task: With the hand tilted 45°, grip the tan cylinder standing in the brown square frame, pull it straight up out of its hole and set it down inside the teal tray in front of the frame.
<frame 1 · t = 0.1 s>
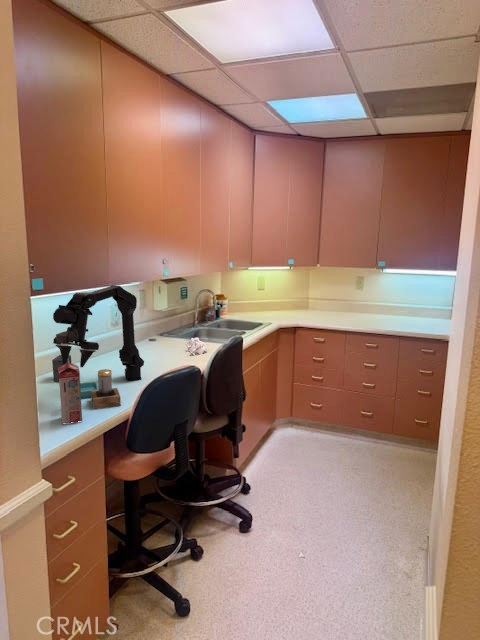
hand: (72, 365, 166), 15 cm above the worktop, tool pointing down, fingers open, 9 cm apart
brown square frame: (105, 402, 170), on the worktop
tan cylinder: (105, 387, 169), in the brown square frame
juice carton: (71, 420, 155), on the worktop
teal tray: (84, 393, 179), on the worktop
white coral: (197, 353, 245), on the worktop
box: (63, 380, 196), on the worktop
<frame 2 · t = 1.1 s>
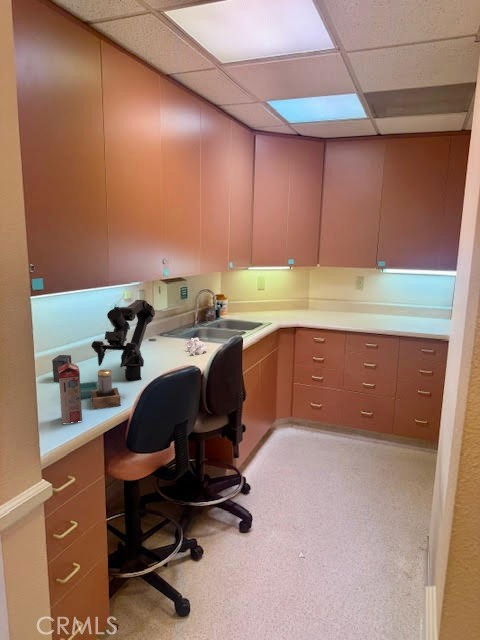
hand: (110, 366, 173), 13 cm above the worktop, tool tilted 45°, fingers open, 9 cm apart
nothing on the worktop moved.
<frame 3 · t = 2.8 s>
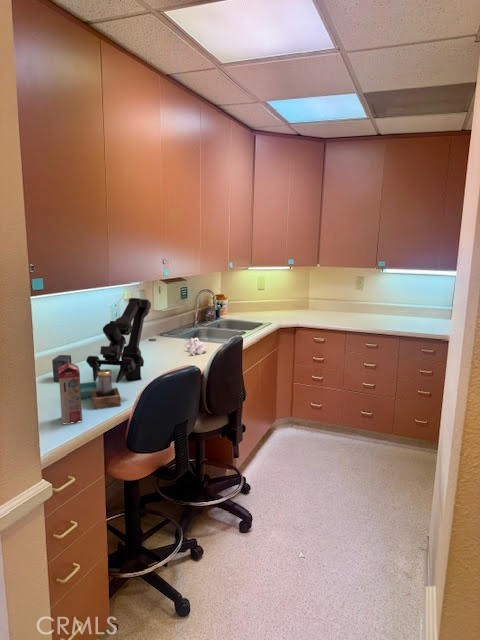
hand: (105, 382, 169), 9 cm above the worktop, tool tilted 45°, fingers open, 9 cm apart
nothing on the worktop moved.
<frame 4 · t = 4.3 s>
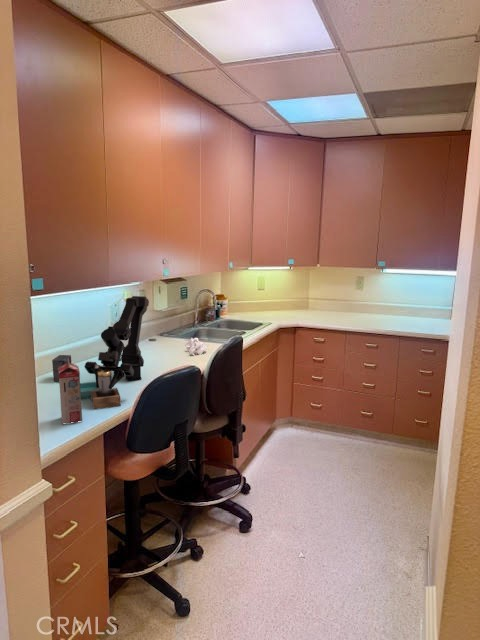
hand: (103, 388, 168), 7 cm above the worktop, tool tilted 45°, fingers closed on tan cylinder, 5 cm apart
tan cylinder: (105, 387, 169), in the brown square frame, touching gripper
everything else where it was.
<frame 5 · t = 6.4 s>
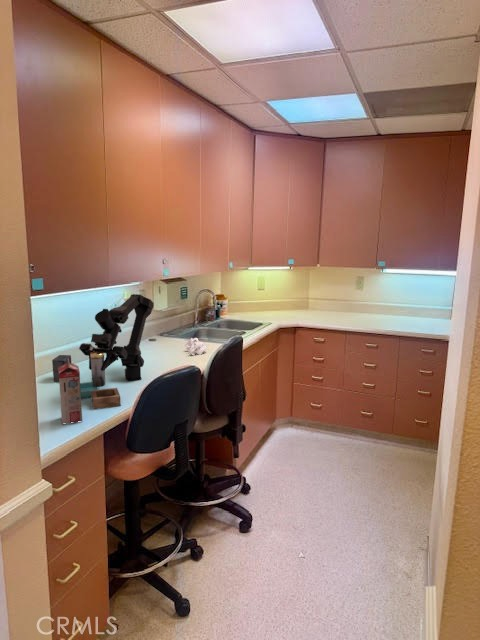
hand: (96, 369, 168), 13 cm above the worktop, tool tilted 45°, fingers closed on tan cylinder, 5 cm apart
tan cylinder: (98, 369, 169), point 13 cm above the worktop, touching gripper
when the fingers open (9 cm above the worktop, at t = 8.8 s): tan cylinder drops 1 cm, resting on teal tray.
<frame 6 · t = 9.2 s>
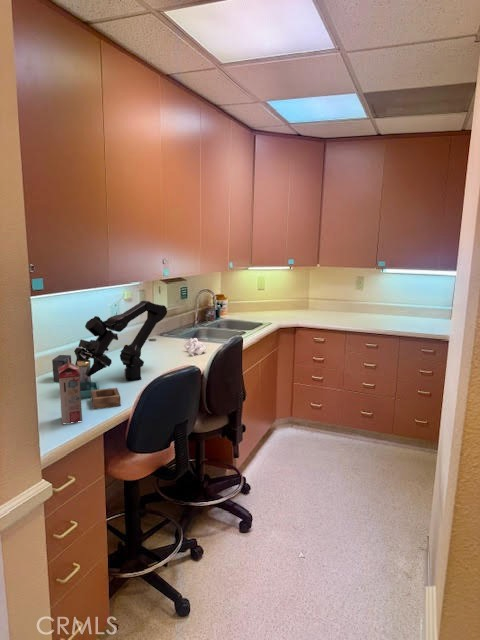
hand: (80, 373, 177), 9 cm above the worktop, tool tilted 45°, fingers open, 9 cm apart
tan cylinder: (84, 376, 178), in the teal tray, point 8 cm above the worktop
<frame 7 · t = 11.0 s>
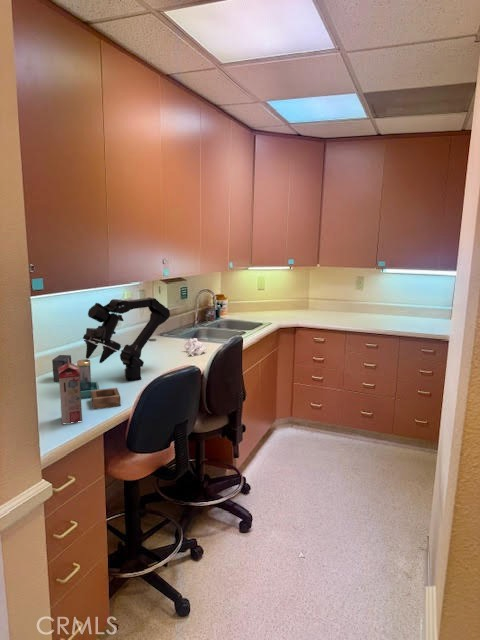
hand: (93, 360, 182), 13 cm above the worktop, tool tilted 30°, fingers open, 9 cm apart
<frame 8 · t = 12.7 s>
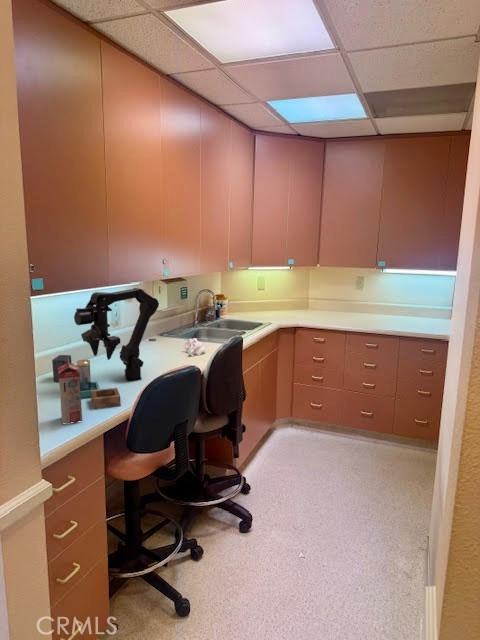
hand: (102, 357, 186), 13 cm above the worktop, tool pointing down, fingers open, 9 cm apart
at the end: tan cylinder inside the target area on the teal tray (0.1 cm from its centre), point 7.5 cm above the teal tray's base; the gripper is holding nothing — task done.
